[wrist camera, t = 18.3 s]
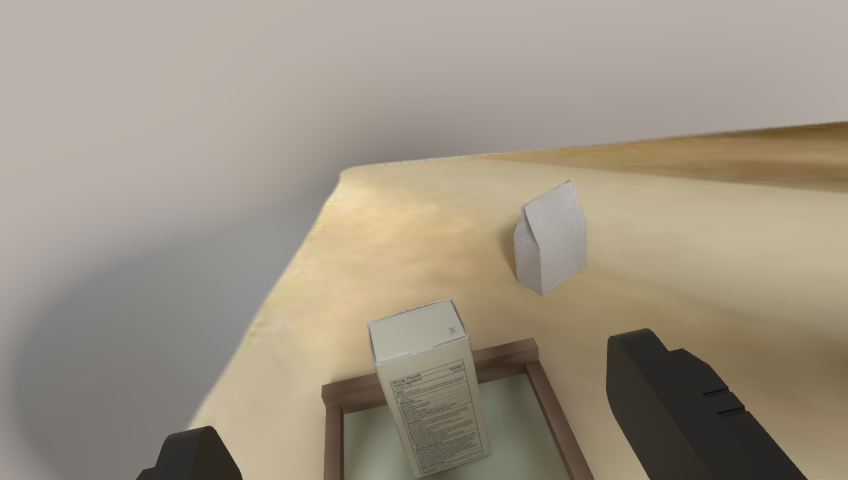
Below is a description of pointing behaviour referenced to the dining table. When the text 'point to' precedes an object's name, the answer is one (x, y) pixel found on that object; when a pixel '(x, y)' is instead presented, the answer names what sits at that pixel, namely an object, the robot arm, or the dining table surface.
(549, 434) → the frame
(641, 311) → the dining table surface
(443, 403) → the skincare box
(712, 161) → the dining table surface
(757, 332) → the dining table surface
